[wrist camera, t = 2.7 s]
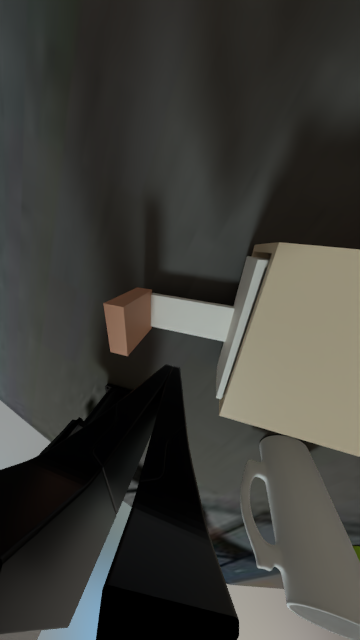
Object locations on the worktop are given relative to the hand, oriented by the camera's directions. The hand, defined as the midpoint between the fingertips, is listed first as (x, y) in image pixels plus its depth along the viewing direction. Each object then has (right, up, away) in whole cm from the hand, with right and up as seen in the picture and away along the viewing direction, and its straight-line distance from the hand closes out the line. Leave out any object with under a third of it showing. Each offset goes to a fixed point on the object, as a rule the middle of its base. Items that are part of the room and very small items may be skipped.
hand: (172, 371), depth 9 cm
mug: (+14, -16, +14) cm, 25 cm away
